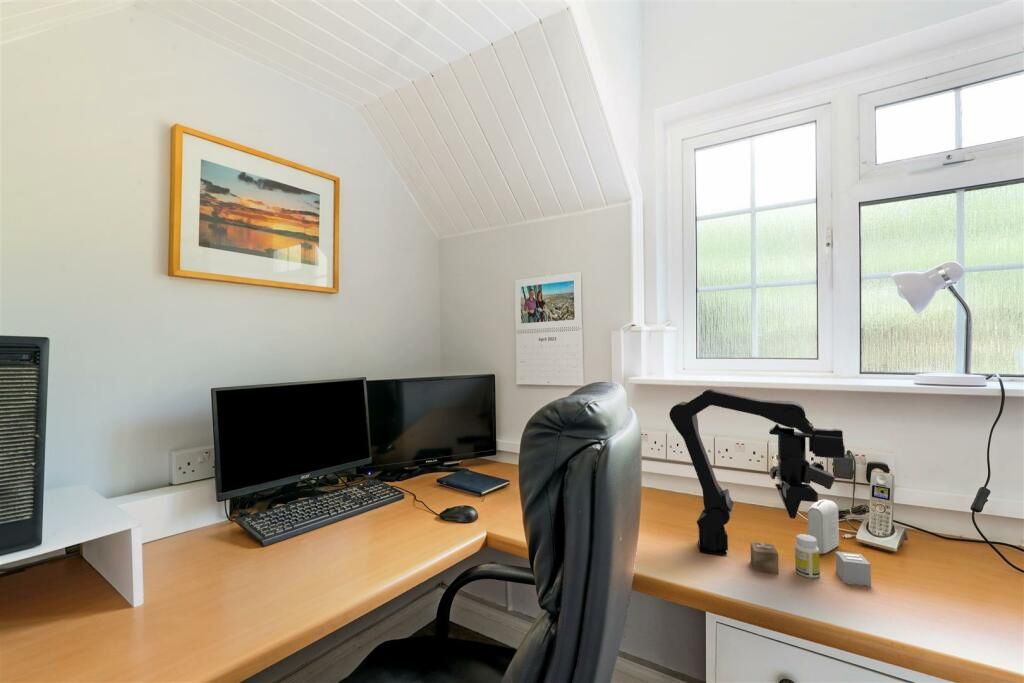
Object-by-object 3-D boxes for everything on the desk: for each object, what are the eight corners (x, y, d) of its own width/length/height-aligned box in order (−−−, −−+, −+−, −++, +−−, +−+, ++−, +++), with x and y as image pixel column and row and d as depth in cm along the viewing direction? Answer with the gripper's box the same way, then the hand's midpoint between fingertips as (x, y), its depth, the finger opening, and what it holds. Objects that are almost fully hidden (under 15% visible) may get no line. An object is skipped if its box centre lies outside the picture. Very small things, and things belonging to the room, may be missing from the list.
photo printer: (823, 539, 122) (822, 494, 122) (841, 545, 118) (840, 499, 118) (805, 550, 116) (804, 502, 116) (824, 556, 113) (823, 507, 113)
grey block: (844, 583, 100) (843, 560, 100) (836, 572, 105) (835, 550, 105) (871, 586, 99) (870, 563, 99) (861, 575, 103) (860, 553, 103)
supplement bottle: (816, 569, 106) (815, 534, 106) (822, 579, 102) (821, 543, 102) (793, 567, 108) (792, 532, 108) (798, 576, 103) (797, 540, 103)
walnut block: (754, 571, 106) (754, 549, 106) (750, 562, 111) (750, 541, 111) (778, 574, 104) (778, 552, 104) (773, 564, 109) (773, 543, 109)
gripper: (845, 467, 97) (845, 538, 97) (818, 447, 114) (819, 508, 114) (786, 462, 100) (786, 531, 100) (769, 444, 118) (769, 503, 118)
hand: (792, 517), depth 108 cm, fingers closed
